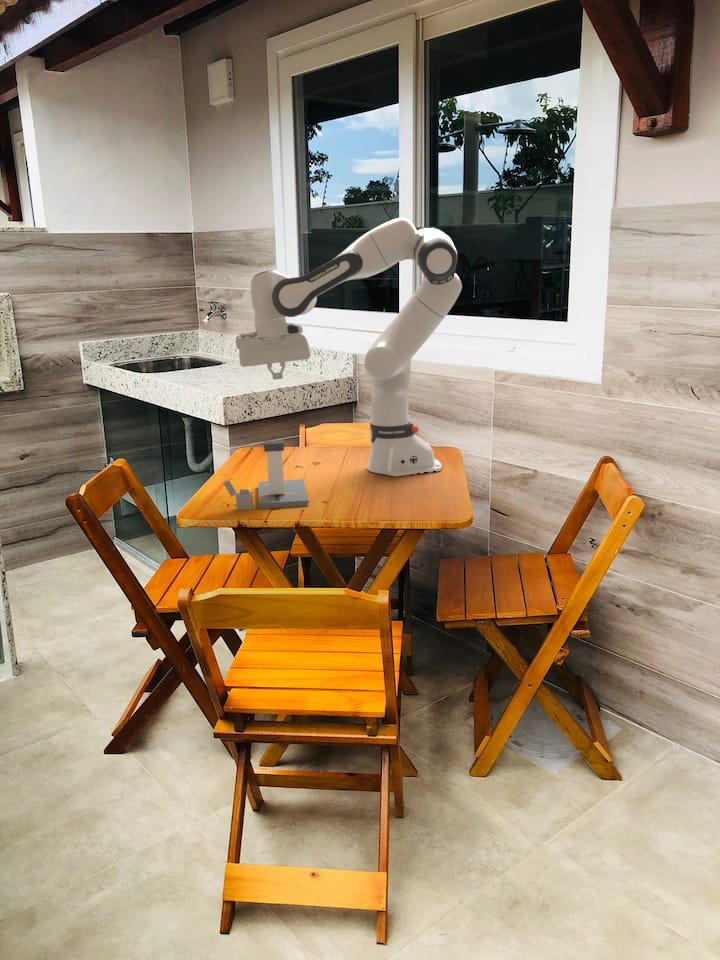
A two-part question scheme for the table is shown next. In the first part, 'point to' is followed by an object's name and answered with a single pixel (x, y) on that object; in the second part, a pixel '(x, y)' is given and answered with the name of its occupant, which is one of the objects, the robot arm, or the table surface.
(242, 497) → the lighter
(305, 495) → the console
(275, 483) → the grey post
